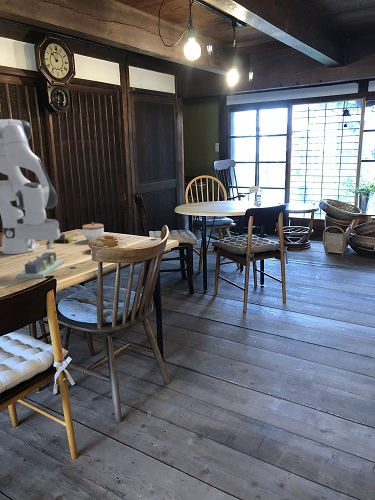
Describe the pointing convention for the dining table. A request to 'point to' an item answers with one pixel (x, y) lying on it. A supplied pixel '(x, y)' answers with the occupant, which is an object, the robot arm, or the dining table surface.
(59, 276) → the dining table surface
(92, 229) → the lidded bowl
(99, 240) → the nautilus
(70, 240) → the stun gun
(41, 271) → the rack
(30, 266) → the grey long bar
